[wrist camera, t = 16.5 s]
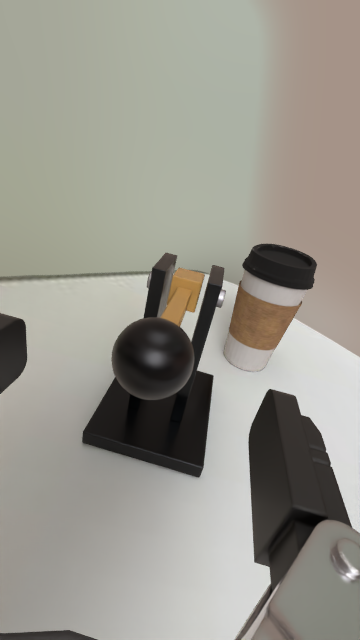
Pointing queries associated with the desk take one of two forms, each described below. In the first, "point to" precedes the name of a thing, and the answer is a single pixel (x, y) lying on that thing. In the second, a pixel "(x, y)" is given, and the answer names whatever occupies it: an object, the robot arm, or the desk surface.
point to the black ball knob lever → (159, 345)
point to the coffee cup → (266, 303)
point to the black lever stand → (169, 413)
